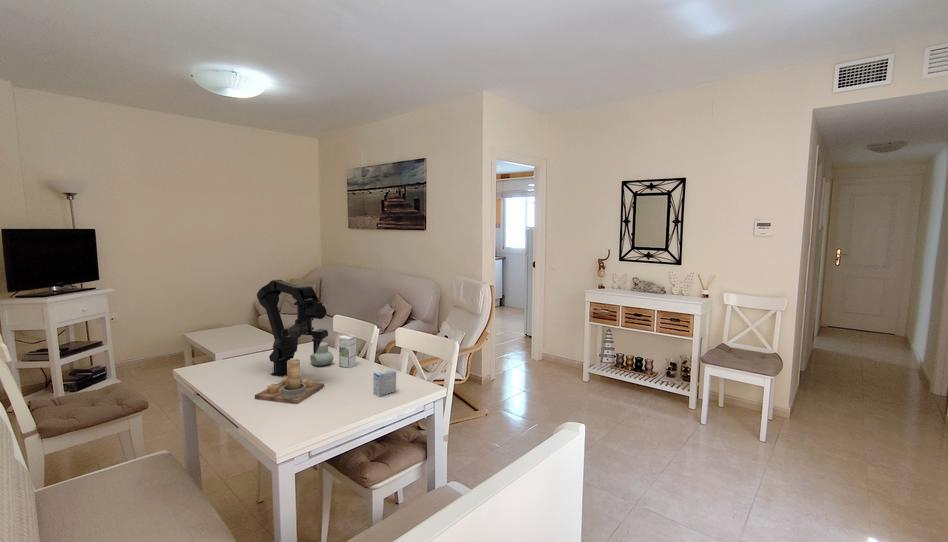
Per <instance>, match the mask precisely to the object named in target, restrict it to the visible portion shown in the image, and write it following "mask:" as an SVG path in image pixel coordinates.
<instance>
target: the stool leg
mask: <svg viewBox="0 0 948 542" xmlns="http://www.w3.org/2000/svg"><path fill="white" fill-rule="evenodd" d="M300 363H301V360H300V359H297V358H296V359H295V358H293V359H290V360H288V361H287V375H286V377H287V388H288V390H297V389H300V381H301V368H300V367H301V365H300Z"/></svg>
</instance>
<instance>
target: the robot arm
mask: <svg viewBox="0 0 948 542" xmlns="http://www.w3.org/2000/svg"><path fill="white" fill-rule="evenodd" d="M282 293H285V294H287V295H290V296H292V299H294V300H295V301H294V303H293V305H295V306H296V314H297V315H296V319H295V320H294V324H293V325H291V326H287V327H284V326H285V325H284V323H283V319H282V315H281V314H280V309H279V302H280V295H281V294H282ZM256 298H257V300H258V302H259V304H260V306H262V307H263V308H264V310H265V312H266V316H267V318H268V322H269V325H270V328H271V331H272V335H273V339H274V341H273V345H272V350H273V351H272V352H271V353H270V354H269V356H268V357H269V361H270V362H273V371H272V373H271V376H278V377H279V376H281V377H285V376H287V361H288V360H292V359H295V358H294V357H295V353H297V351H298V346H299V345H298V343H299V338H301V337H302V335H304V336H312V338H311V341H312V343H313V348H312V351H313V353H314V354H316V352H317V350H318V347H319V345H320V343H321V342H323V340H324V339H326V337H328V336H329V331H328V330H327V329H325V328H323V329H322V328H319V329H316V330H315V327H313V322H314V320H315V319H316V320H322V319H324V318H325V317H326V315H327V308H326V307H325V306H324V305H323V302H321V301H320V300H319V297H318V296H317V293H316V291H315V290H314V288H313V286H311V285H297V284H294V283H292V282H287V281H284V280H282V279H272V280H270V281H269V282H268V283H267V284H266V285H264V286H261V288H260V289H258V291H257V293H256ZM284 375H285V376H284Z"/></svg>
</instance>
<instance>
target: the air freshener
mask: <svg viewBox="0 0 948 542" xmlns="http://www.w3.org/2000/svg"><path fill="white" fill-rule="evenodd" d="M309 356H310V357H309V360H310V362H311V364H312V365H314V366H316V367H320V366H322V367H323V365H324V366H328V365H330V364H331V363H332V362H333V361H334V355H333V353H332V352H331V351H329V343H328V342H325V341H321V343H320V345H319V347H318V350H317V352H316V354H314V352H313V353H311V355H309Z"/></svg>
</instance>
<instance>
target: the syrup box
mask: <svg viewBox="0 0 948 542" xmlns="http://www.w3.org/2000/svg"><path fill="white" fill-rule="evenodd" d="M356 338H357V337H356V335H353V334H343V335H340V336H339V337H338V347H339V348H338V353H339V354H338V358H339V359H338V361H339V363H338V364H339V365H338V366H340V368H346V367H347V368H348V369H351V368H353V367H355V366H357V365H356V364H357V356H356V355H357V348H356V347H357V341H356V340H357V339H356ZM354 365H355V366H354ZM352 366H353V367H352ZM350 367H351V368H350Z"/></svg>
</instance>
